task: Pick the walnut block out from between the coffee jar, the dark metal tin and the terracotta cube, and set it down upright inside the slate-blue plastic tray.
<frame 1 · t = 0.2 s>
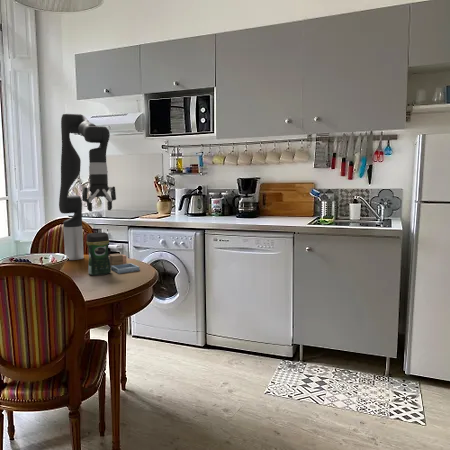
hand: (100, 210, 187), 28 cm above the table, tool pointing down, fingers open, 8 cm apart
blue grey tray: (125, 270, 199), on the table
metal tin: (100, 268, 202), on the table
coffee jar: (99, 274, 192), on the table
terracotta cube: (121, 263, 214), on the table
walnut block: (116, 267, 206), on the table
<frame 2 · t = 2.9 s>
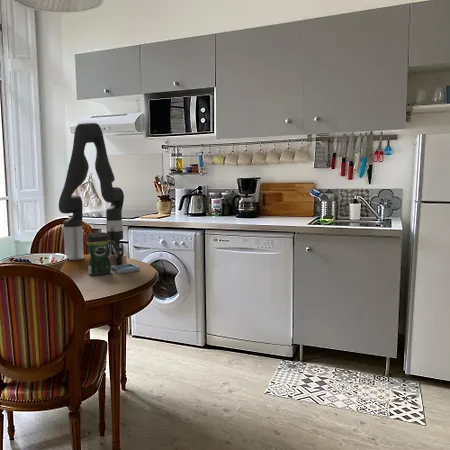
hand: (116, 263, 205), 2 cm above the table, tool pointing down, fingers open, 8 cm apart
nothing on the table moved.
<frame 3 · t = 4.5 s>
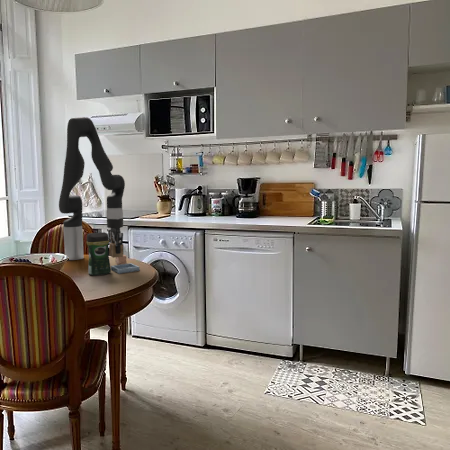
hand: (116, 252, 205), 7 cm above the table, tool pointing down, fingers closed on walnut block, 5 cm apart
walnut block: (116, 255, 206), point 5 cm above the table, touching gripper
everything else where it was.
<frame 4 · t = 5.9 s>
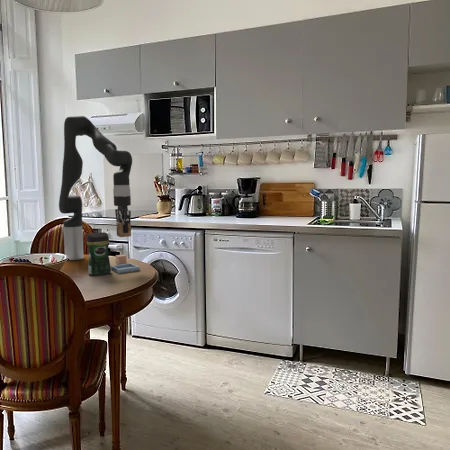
hand: (123, 232, 196), 18 cm above the table, tool pointing down, fingers closed on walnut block, 5 cm apart
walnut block: (123, 235, 197), point 16 cm above the table, touching gripper
everything else where it was.
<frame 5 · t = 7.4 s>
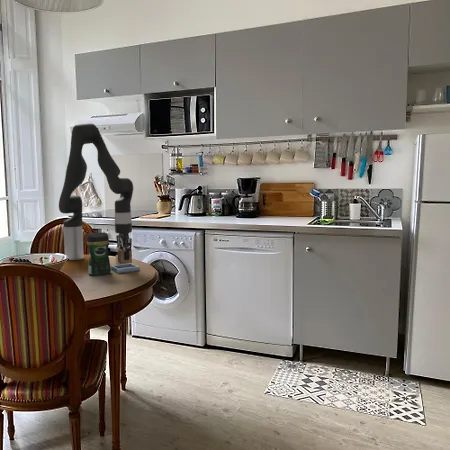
hand: (124, 258, 198), 5 cm above the table, tool pointing down, fingers closed on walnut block, 5 cm apart
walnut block: (124, 262, 198), point 4 cm above the table, touching gripper
everything else where it was.
when the fingers open (2 cm above the table, at t = 8.5 s): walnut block stays where it is, resting on blue grey tray.
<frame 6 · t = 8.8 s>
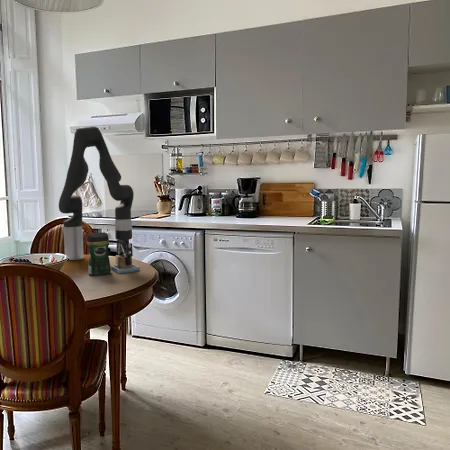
hand: (124, 263, 198), 3 cm above the table, tool pointing down, fingers open, 8 cm apart
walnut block: (125, 269, 199), resting on blue grey tray
everything else where it was.
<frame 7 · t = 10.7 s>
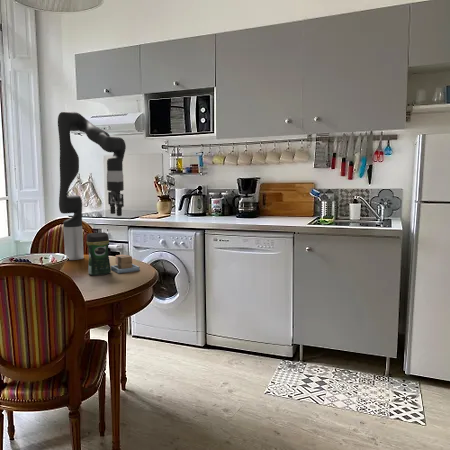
hand: (116, 214, 203), 25 cm above the table, tool pointing down, fingers open, 8 cm apart
nothing on the table moved.
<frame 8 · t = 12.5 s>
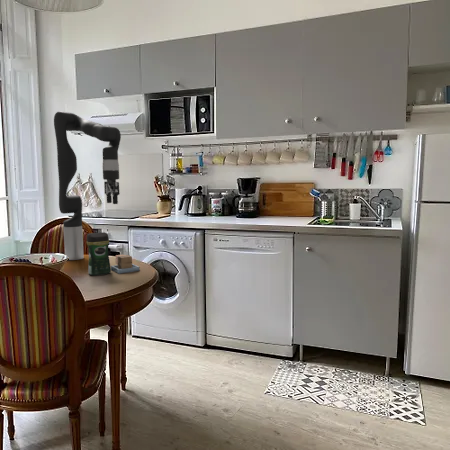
hand: (112, 203, 207), 30 cm above the table, tool pointing down, fingers open, 8 cm apart
nothing on the table moved.
at the end: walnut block 0.1 cm off-centre on the blue grey tray, point 0.5 cm above the blue grey tray's base; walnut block tilted 0°; the gripper is holding nothing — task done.
